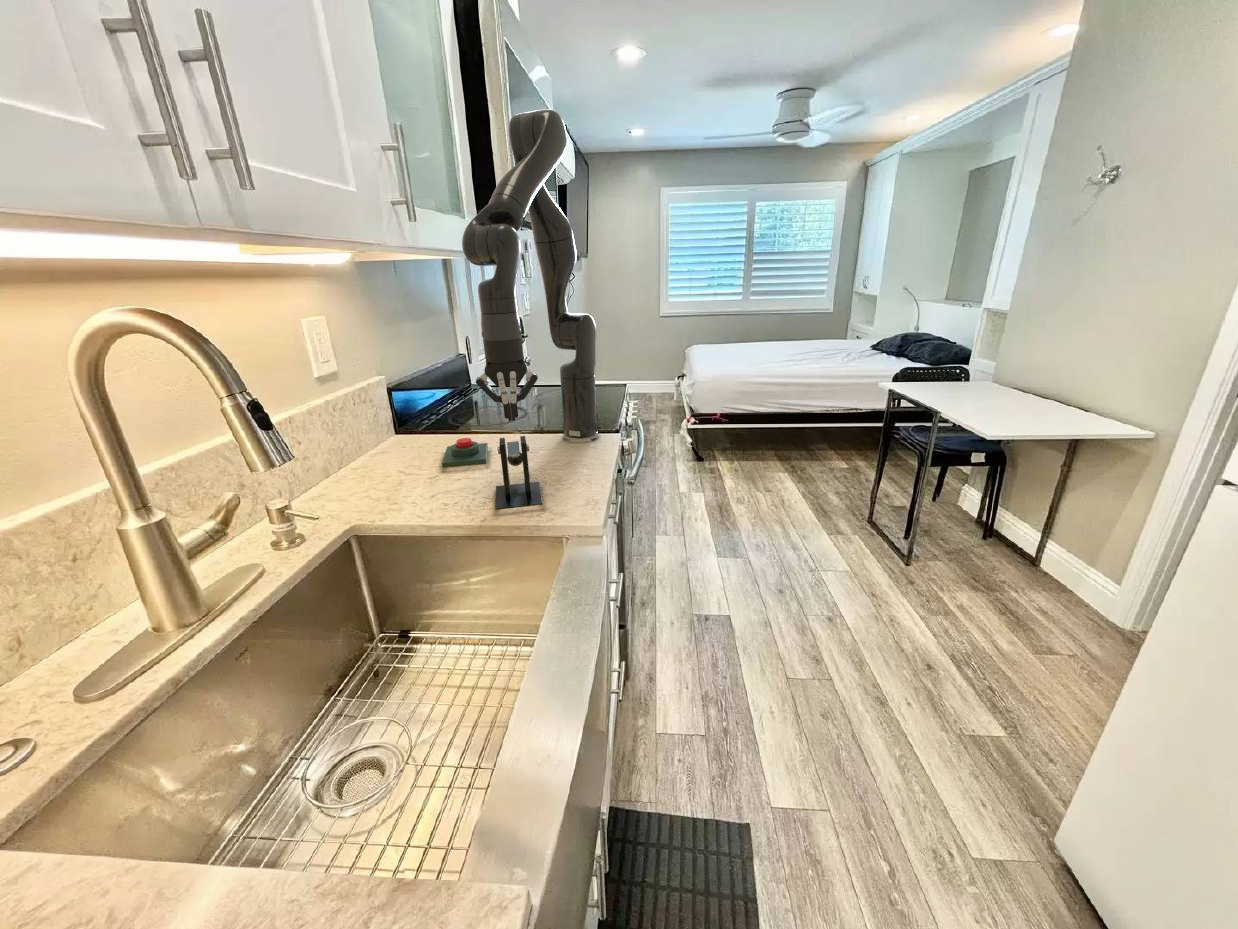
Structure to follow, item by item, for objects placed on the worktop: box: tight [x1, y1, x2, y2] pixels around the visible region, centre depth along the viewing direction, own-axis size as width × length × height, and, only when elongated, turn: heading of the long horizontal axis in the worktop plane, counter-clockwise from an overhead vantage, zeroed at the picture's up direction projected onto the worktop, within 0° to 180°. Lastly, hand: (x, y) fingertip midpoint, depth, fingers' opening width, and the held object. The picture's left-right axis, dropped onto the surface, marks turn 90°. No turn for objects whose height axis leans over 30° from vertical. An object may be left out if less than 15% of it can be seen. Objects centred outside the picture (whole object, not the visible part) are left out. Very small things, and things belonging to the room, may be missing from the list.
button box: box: [441, 440, 489, 469], centre depth 121 cm, size 12×10×4 cm
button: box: [455, 437, 473, 449], centre depth 120 cm, size 4×4×2 cm
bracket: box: [494, 435, 543, 511], centre depth 98 cm, size 11×9×13 cm
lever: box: [506, 440, 523, 467], centre depth 101 cm, size 14×3×3 cm, turn 12°
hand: (511, 419), depth 103 cm, fingers closed
